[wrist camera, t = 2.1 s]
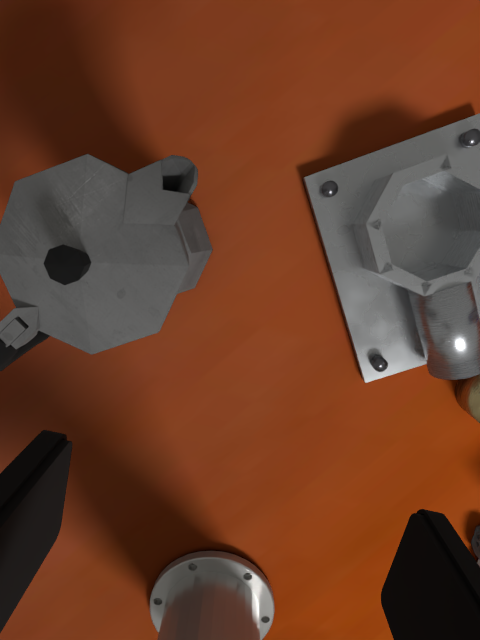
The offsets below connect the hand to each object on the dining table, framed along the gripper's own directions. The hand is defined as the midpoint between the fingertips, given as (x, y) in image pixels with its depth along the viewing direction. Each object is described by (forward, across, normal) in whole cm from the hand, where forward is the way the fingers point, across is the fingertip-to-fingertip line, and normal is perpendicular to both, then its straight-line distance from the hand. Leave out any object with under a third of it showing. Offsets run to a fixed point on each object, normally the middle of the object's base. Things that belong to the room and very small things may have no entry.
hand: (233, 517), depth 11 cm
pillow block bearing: (+25, -13, -8) cm, 29 cm away
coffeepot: (+25, +9, -3) cm, 27 cm away
